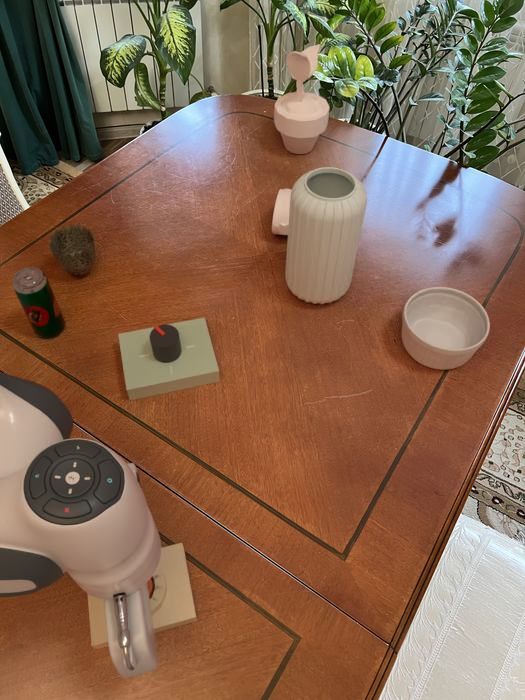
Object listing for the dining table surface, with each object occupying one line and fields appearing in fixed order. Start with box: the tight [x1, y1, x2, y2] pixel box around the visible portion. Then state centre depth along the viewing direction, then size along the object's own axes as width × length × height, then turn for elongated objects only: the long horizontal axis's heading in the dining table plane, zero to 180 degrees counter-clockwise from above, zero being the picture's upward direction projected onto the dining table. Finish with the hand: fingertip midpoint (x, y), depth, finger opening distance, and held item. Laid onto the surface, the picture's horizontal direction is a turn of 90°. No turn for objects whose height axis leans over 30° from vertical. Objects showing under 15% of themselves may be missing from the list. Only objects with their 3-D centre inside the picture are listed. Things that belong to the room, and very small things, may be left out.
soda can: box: [12, 266, 66, 339], centre depth 90 cm, size 5×5×12 cm
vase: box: [284, 166, 368, 305], centre depth 93 cm, size 12×12×22 cm
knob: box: [150, 324, 182, 363], centre depth 87 cm, size 4×4×4 cm
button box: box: [86, 542, 198, 650], centre depth 68 cm, size 12×9×4 cm
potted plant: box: [273, 41, 330, 155], centre depth 118 cm, size 13×12×25 cm
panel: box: [117, 317, 221, 402], centre depth 90 cm, size 14×11×3 cm
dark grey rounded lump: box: [47, 223, 96, 278], centre depth 100 cm, size 8×7×8 cm
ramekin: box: [401, 286, 491, 371], centre depth 92 cm, size 13×13×7 cm
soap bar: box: [271, 187, 292, 236], centre depth 108 cm, size 12×9×8 cm
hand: (136, 586), depth 66 cm, fingers closed, pressing on button
